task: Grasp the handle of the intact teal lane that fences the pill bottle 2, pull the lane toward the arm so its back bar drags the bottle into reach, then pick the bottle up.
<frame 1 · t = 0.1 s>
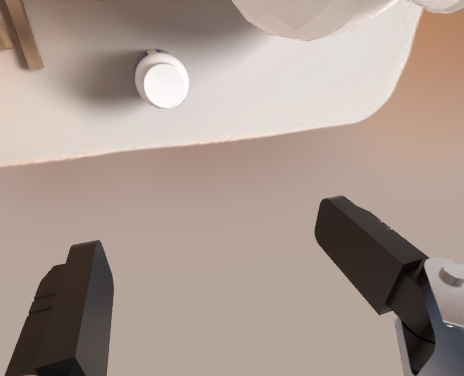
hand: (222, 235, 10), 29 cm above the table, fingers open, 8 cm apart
pill bottle: (157, 73, 33), on the table
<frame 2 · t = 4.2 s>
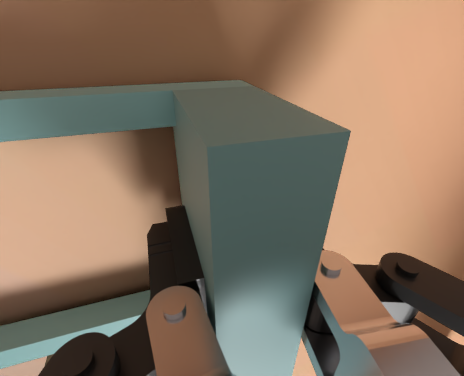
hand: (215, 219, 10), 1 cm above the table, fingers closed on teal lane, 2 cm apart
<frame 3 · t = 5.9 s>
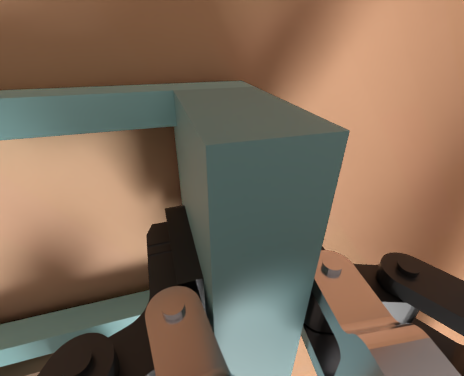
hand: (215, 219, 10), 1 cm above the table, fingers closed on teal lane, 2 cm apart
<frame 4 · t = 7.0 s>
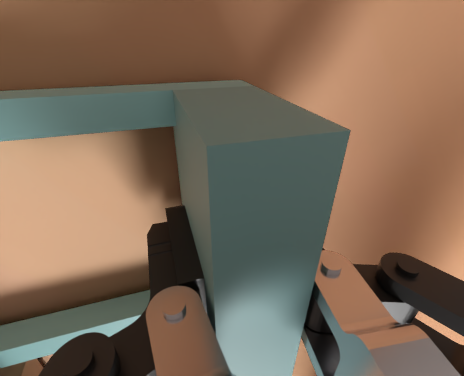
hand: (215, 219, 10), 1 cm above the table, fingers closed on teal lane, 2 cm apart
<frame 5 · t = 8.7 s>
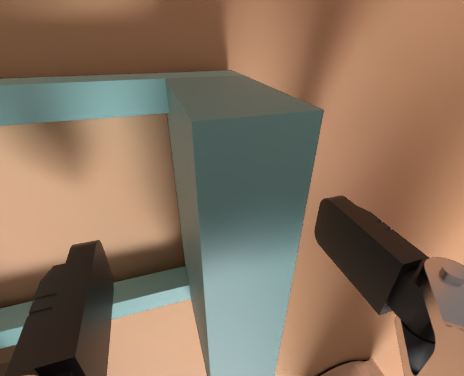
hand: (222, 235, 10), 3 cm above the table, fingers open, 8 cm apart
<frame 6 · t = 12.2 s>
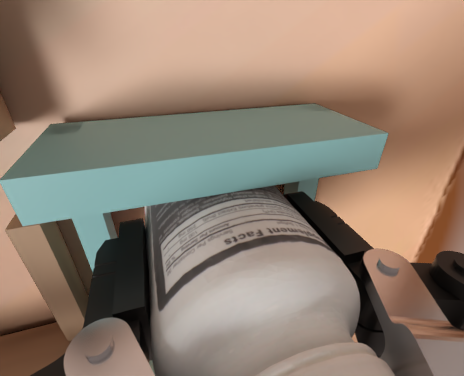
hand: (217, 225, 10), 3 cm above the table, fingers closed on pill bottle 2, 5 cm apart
teal lane: (223, 344, 13), point 3 cm above the table, slide at 10.0 cm
pill bottle 2: (204, 192, 12), resting in teal lane, touching gripper
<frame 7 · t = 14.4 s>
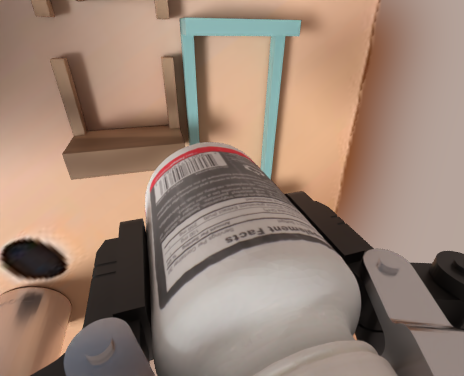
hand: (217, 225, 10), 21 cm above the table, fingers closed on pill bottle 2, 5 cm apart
walnut lane broken: (109, 46, 21), point 3 cm above the table, slide at 0.0 cm
teal lane: (238, 140, 28), point 3 cm above the table, slide at 10.0 cm
pill bottle 2: (204, 191, 12), point 18 cm above the table, touching gripper
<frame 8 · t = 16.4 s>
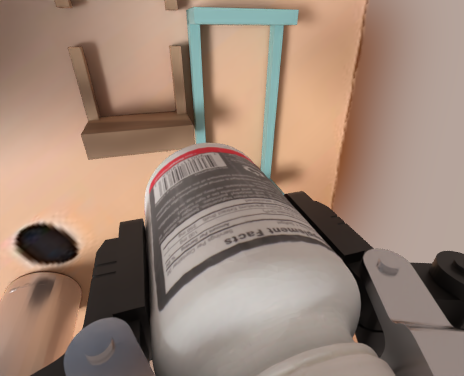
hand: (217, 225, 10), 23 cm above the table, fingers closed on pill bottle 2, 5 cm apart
walnut lane broken: (124, 34, 23), point 3 cm above the table, slide at 0.0 cm
teal lane: (241, 124, 30), point 3 cm above the table, slide at 10.0 cm
pill bottle 2: (204, 192, 12), point 21 cm above the table, touching gripper
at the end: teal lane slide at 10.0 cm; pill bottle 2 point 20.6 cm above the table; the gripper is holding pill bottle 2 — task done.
